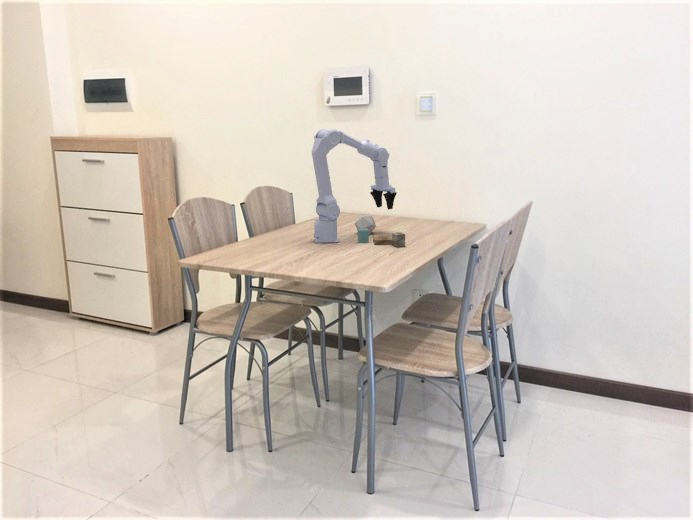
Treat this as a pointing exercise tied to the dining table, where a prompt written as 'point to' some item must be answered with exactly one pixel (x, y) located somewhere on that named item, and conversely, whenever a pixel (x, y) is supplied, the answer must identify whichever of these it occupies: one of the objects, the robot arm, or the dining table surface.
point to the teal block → (363, 235)
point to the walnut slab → (382, 240)
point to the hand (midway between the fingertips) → (384, 208)
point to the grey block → (398, 239)
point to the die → (365, 223)
